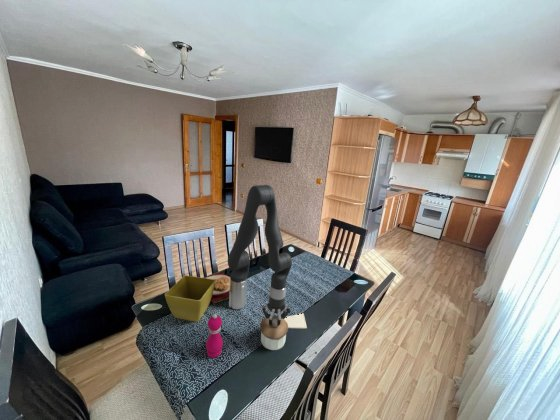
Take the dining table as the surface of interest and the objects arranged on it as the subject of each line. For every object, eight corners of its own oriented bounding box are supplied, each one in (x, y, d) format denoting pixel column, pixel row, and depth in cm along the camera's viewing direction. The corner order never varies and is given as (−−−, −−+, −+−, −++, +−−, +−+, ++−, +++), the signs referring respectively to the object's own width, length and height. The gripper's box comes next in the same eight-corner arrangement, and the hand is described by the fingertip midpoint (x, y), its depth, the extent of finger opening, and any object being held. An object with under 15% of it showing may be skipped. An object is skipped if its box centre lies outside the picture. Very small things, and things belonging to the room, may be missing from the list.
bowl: (260, 350, 105) (261, 339, 103) (260, 330, 116) (261, 320, 115) (286, 350, 106) (287, 340, 104) (283, 330, 117) (284, 320, 116)
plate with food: (214, 305, 126) (214, 300, 125) (188, 285, 140) (188, 281, 140) (245, 287, 144) (245, 282, 144) (219, 272, 159) (220, 267, 158)
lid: (259, 338, 102) (260, 327, 100) (260, 317, 115) (261, 307, 113) (289, 339, 103) (290, 328, 102) (286, 317, 116) (287, 307, 115)
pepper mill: (224, 345, 105) (225, 309, 100) (220, 359, 98) (221, 321, 93) (208, 344, 105) (208, 308, 100) (204, 358, 98) (204, 320, 93)
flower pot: (165, 322, 115) (163, 294, 111) (185, 299, 133) (184, 274, 129) (200, 329, 113) (199, 301, 109) (215, 304, 131) (216, 279, 127)
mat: (278, 328, 118) (279, 327, 118) (277, 308, 133) (277, 307, 133) (306, 328, 120) (306, 327, 120) (302, 309, 134) (302, 308, 134)
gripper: (262, 298, 100) (259, 330, 104) (293, 299, 101) (289, 330, 106) (262, 288, 107) (260, 318, 112) (291, 289, 108) (287, 319, 113)
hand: (274, 324), depth 109 cm, fingers closed on lid, 3 cm apart
